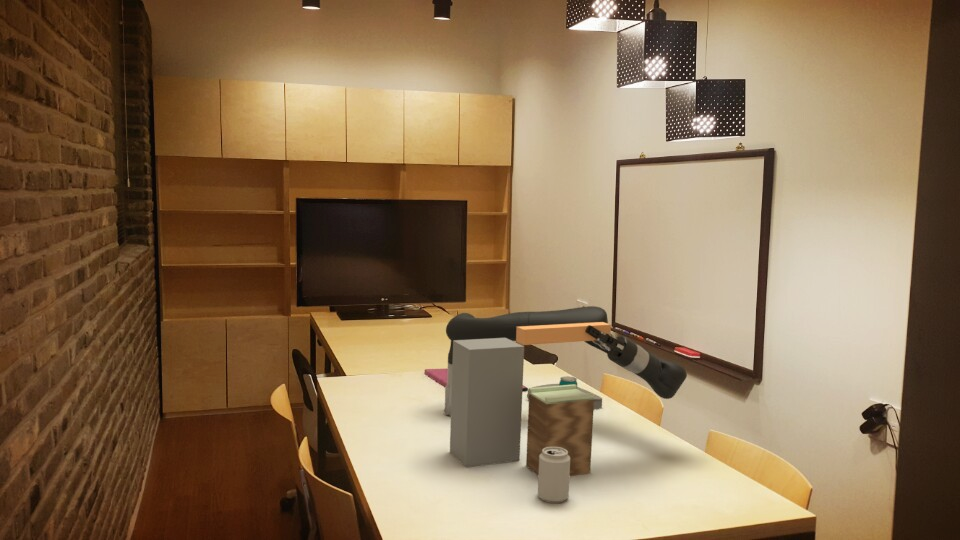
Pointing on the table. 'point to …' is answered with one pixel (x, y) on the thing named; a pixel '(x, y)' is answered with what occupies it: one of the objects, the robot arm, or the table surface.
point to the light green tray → (596, 398)
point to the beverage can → (567, 381)
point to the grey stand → (486, 401)
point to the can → (554, 474)
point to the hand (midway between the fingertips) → (583, 327)
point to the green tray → (560, 394)
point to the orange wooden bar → (558, 333)
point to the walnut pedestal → (560, 432)
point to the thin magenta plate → (444, 376)
